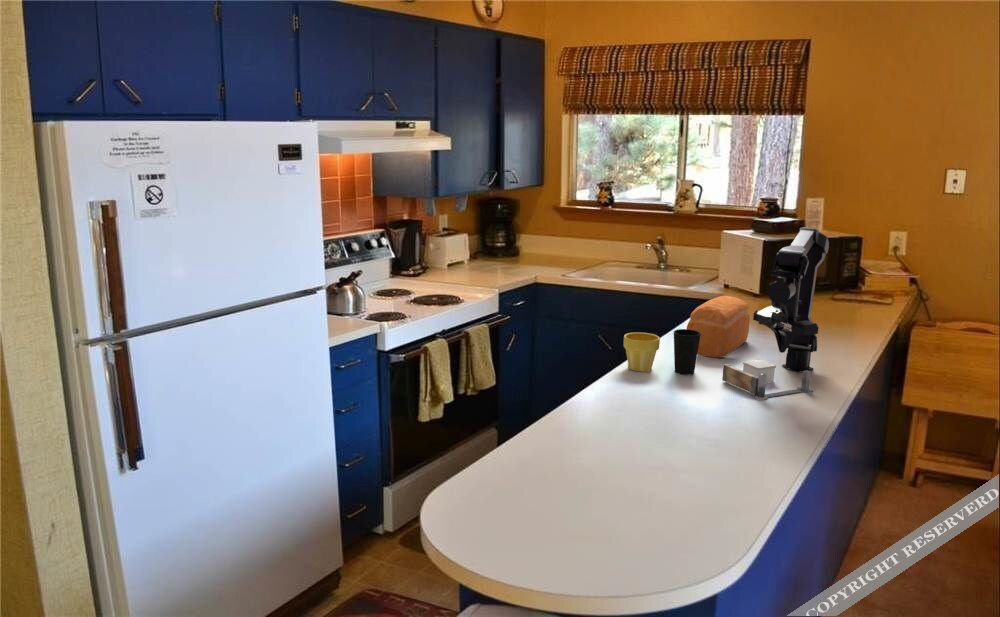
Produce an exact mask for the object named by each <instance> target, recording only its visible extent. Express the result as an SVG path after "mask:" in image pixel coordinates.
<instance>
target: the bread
mask: <svg viewBox="0 0 1000 617" xmlns="http://www.w3.org/2000/svg"><path fill="white" fill-rule="evenodd" d="M749 308H750V307H749V304H748V303H747V302H746V301H744V300H743V299H741V298H738V297H736V296H730V295H729V296H728V295H721V296H717V297H715V298H712V299H711V298H710V299H709V300H707V301H706V302H704V303H702V304H700V305H699V306H697V307H696V308H694V310H692V312H691V313H690V317H689V320H688V322H687V325H686V329H690V330H695V331H698V332H700V333H701V336H700V342H699V348H698V353H697V356H703V357H710V358H717V359H718V358H720V359H721V358H725V357H726V356H728V355H729V354H731V353H732V352H733V351H735V350H736V349H738V348H739V347H740V346H742V345H744V343H746V342H747V341H748V337H749V336H748V335H749V331H750V321H751V320H750V319H751V318H750V313H749Z"/></svg>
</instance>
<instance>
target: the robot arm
mask: <svg viewBox="0 0 1000 617" xmlns="http://www.w3.org/2000/svg"><path fill="white" fill-rule="evenodd" d="M829 245H830V242H829V239H828V236H827V235H825V234H823V233H822V232H820V230H819V229H817V228H815V227H806V226H803V227H800V228H799V229H798V233H797V234H796V237H795V238H794V239H793V241H792V242H791V243H790V245H788V246H784V247H782V248H781V249H780V250H779V251H778V252H777V253H776V254H775V257H774V262H773V265H772V269H771V273H770V277H776V278H775V281H774V282H773V283H771V284H770V285H769V287H768V289H767V296H768V298H769V300H770V301H771V304H770V305H769V306H766V307H765V308H763V309H757V310H755V311H754V313H753V318H752V320H753V321H755V322H758V325H761V326H765V327H767V328H768V329H770V330H771V331H772V332H773V334H774V336H775V339H776V343H777V347H778V351H779V353H781V354H783V353H785V352H786V350H787V353H786V355H785V356H786V357H785V358H786V359H785V363H784V364H782V365H781V366H782V367H783V368H786V369H788V370H791V371H793V372H796V373H803V371H805V370H808V371H814V367H811V356H812V353H813V352H817V351H818V337H817V335H818V334H819V327H820V326H819V325H818V323H816V322H814V320H813V318H811V315H812V309H813V308H812V307H813V300H814V295H815V288H816V280H817V273H818V269H819V268H818V267H820V265H821V264H822V263H823V261H825V258H826V254H828V253H829V247H830V246H829Z"/></svg>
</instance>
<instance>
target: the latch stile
mask: <svg viewBox="0 0 1000 617" xmlns="http://www.w3.org/2000/svg"><path fill="white" fill-rule="evenodd" d="M811 373H812V371H811V370H809V371H808V370H805V371H802V378H801V385H800V386H801V387H796V389H798V390H801V391H802V392H801V393H811V392H814V389H812V388H810V381H811Z"/></svg>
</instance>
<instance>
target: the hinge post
mask: <svg viewBox="0 0 1000 617" xmlns="http://www.w3.org/2000/svg"><path fill="white" fill-rule="evenodd" d="M766 377H767V375H766V374H764V373H760V374H759V377H758V387H757V394H756V395H754V394H753V396H752V397H753V398H754V399H755V400H759V401H765V400H768V399H769V398H768V397H767V396H766V395H765V394H766V384H767V383H766Z"/></svg>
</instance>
